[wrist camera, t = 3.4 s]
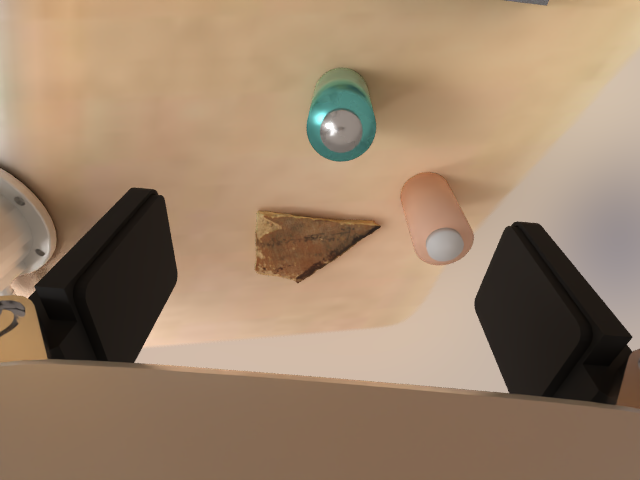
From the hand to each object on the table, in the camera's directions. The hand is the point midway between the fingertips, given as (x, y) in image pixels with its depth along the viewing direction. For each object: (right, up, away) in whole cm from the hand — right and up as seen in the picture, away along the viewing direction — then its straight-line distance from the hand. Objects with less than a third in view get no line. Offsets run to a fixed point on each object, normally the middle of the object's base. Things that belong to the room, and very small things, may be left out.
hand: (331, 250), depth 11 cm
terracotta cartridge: (+8, +4, +21) cm, 23 cm away
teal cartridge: (+1, +11, +17) cm, 20 cm away
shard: (-2, +2, +24) cm, 25 cm away
